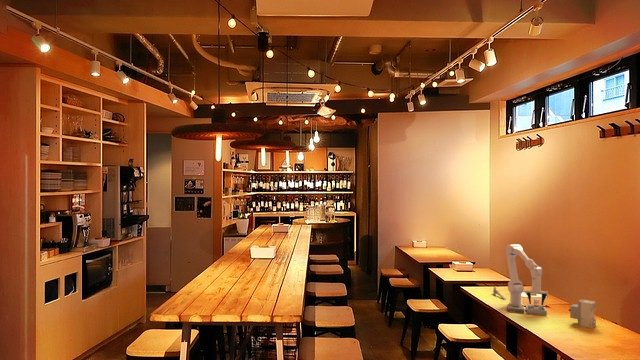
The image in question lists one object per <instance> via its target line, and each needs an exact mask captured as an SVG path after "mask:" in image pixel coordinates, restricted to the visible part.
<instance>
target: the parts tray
mask: <svg viewBox="0 0 640 360" xmlns="http://www.w3.org/2000/svg"><path fill="white" fill-rule="evenodd" d="M525 311H526V314H530V315H539V316H547V315H548V311H547V309H546V307H545V306H543V305H541V306H540V305H539V310H534V305H531V304H529V305H528V304H525Z"/></svg>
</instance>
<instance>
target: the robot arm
mask: <svg viewBox="0 0 640 360" xmlns="http://www.w3.org/2000/svg"><path fill="white" fill-rule="evenodd" d="M505 253H506V262H507V266H508V267H507V268H508V272H509V279H510V280H509V281H508V282H507V285H508V286H507V290H508V292H509V295H510V296H509V297H510V299H509V301H510V302H508V304H512V305H522V294H523V293H524V294H526V295H527V299H528V302H529V305H531V304H532V303H531V302H532V299H531V298H532V294H535V295H541V306H544V303H545V301H546V299H547V296H548V295H549V292H548V291H544V290H542V276H543V274H544V270H543V268H542V267H541V266H539V265H538V264H536V262H535V261H534V259H531V258H529V256H527V254H526V253H525V251H524V249H523V246H522V245H521V244H507V245H506V247H505ZM516 256H519V257H520V258H521V259H522V260H523V261H524V265H525V266H526V267H527V268H528V269H529V272H530V275H531V289H524V285H523V282H522V281H521V280H520V279H519V276H518V268H517V263H516Z"/></svg>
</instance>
